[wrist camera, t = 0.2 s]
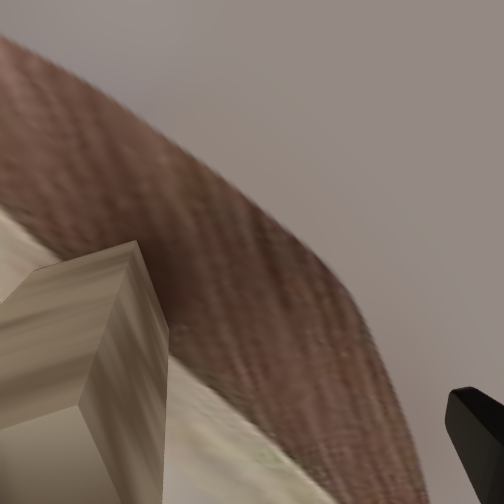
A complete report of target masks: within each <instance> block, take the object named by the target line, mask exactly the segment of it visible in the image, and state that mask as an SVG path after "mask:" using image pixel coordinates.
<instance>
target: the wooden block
mask: <svg viewBox="0 0 504 504" xmlns="http://www.w3.org/2000/svg"><path fill="white" fill-rule="evenodd" d="M168 350H169V328H168V325H167V323H166V320H165V317H164V314H163V312H162V309H161V306H160V303H159V301H158V298H157V295H156V292H155V290H154V287H153V284H152V281H151V278H150V276H149V273H148V270H147V267H146V265H145V262H144V259H143V256H142V254H141V251H140V248H139V245H138V243H137V240H134V241H131V242H127V243H124V244H121V245H117V246H114V247H111V248H108V249H104V250H101V251H98V252H94V253H91V254H88V255H84V256H81V257H78V258H75V259H71V260H68V261H65V262H61V263H58V264H55V265H51V266H48V267H45V268H42V269H38V270H35V271H33V272H32V273H31V274H30V275H29V276H28V277H27V278H26V279H25V280H24V282H23V283H22V284H21V285H20V286H19V287H18V288H17V289H16V290H15V291H14V292H13V293H12V294H11V295H10V296H9V297H8V298H7V299H6V300H5V301H4V302H3V303H2V304H1V305H0V504H162V493H163V492H162V491H163V469H164V445H165V421H166V398H167V374H168Z"/></svg>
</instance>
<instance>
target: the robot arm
mask: <svg viewBox="0 0 504 504" xmlns="http://www.w3.org/2000/svg"><path fill="white" fill-rule="evenodd" d="M445 425H446V429H447V432H448V434H449V436H450V438H451V441H452V443H453V445H454V447H455V449H456V451H457V454H458V456H459V458H460V460H461V462H462V464H463V466H464V469H465V471H466V473H467V475H468V477H469V480H470V482H471V484H472V486H473V488H474V490H475V493H476V495H477V497H478V499H479V501H480V503H481V504H504V405H502V404H501V403H499V402H498V401H496V400H494V399H493V398H491V397H489V396H488V395H486V394H485V393H483V392H481V391H479V390H478V389H476V388H474V387H463V388H458V389H454V390H452V391H451V392H450V393H449V398H448V404H447V409H446V415H445Z"/></svg>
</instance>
